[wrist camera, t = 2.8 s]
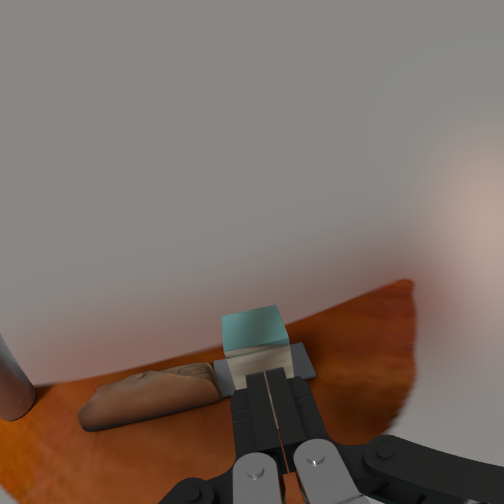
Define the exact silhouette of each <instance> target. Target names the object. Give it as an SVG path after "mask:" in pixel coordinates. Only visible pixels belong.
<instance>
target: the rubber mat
mask: <svg viewBox="0 0 504 504" xmlns="http://www.w3.org/2000/svg"><path fill="white" fill-rule="evenodd" d="M290 350H291V358H292V365H293V373H294V377H296V376H300V377H301V378H302V379H303V380H307V379H310V378H314V377H316V373H315V371H314V368H313V366H312V364H311V361H310V359H309V357H308V355H307V352H306V350H305V348H304V345H303V343H302V342H300V343H296V344H292V345H290ZM214 373H215V376H216V378H217V381H218V384H219V386H220V389H221V392H222V394H223V397H229V396H233V393H234V391H235V390H236V388H235V385H234V382H233V378H232V375H231V372H230V369H229V366H228V363H227V360H226V359H223V360H217V361H214Z"/></svg>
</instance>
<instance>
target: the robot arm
mask: <svg viewBox="0 0 504 504" xmlns="http://www.w3.org/2000/svg"><path fill="white" fill-rule="evenodd" d="M265 373H266V377H267V382H268V386H269V390H270V395H271V399H272V403H273V407H274V412H275V416H276V420H277V424H278V428H279V432H280V436H281V440H282V444H283V448H284V452H285V456H286V460H287V464H288V468H289V472H290V473H292V472H295V473H296V477H297V481H298V484H299V489H300V492H301V495H302V497H303V500H304V502H305V504H370V503H369V501H368V499H367V498H366V497H365V496H368V497H370V498H372V499H375V500H377V501H380V502H382V503H385V504H504V467H501V466H497V465H492V464H487V463H483V462H478V461H474V460H470V459H466V458H463V457H458V456H455V455H452V454H448V453H445V452H441V451H438V450H435V449H431V448H428V447H425V446H422V445H419V444H416V443H413V442H410V441H407V440H404V439H402V438H399V437H396V436H393V435H381V436H377V437H375V438H374V439H372V440H371V441H370V442H369V443H368V444H365V445H342V444H339V443H336V442H335V441H333V440H332V439H331V438H330V437H329V436H328V434H327V431H326V429H325V426H324V424H323V421H322V418H321V416H320V413H319V411H318V408H317V406H316V404H315V400H314V398H313V396H312V393H311V390H310V387H309V385H308V383H307V382H306V381H305V380H303V379H302V378H301V377H300V376H296V377H292V378H288V379H287V377H286V374H285V371H284V368H283V367H279V368H274V369H270V370H266V371H265ZM245 377H246V384H247V388H243V389H238V390H235V391H234V393H233V396H232V398H231V401H230V402H231V412H232V421H233V432H234V441H235V450H236V459H235V462H234V464H233V466H232V467H231V468H230V469H229V470H228V471H227V472H225V473H224V474H222V475H220V476H217V477H215V478H212V479H210V480H207V481H205V480H203V479H200V478H187V479H184V480H182V481H180V482H178V483H177V484H176V485H175V486H174V487H173V488H172V490H171V491H170V492H169V493H168V494H167V495H166V496H165V497H164V498H163V499H162V500H161V501H160V502H159V503H158V504H287V503H286V495H285V492H286V488H285V483H284V479H283V475H284V474H288V472H287V468H286V464H285V460H284V456H283V451H282V447H281V443H280V439H279V435H278V431H277V427H276V422H275V418H274V414H273V410H272V406H271V401H270V397H269V393H268V389H267V385H266V380H265V376H264V372H263V371H262V372H257V373H252V374H247V375H245ZM35 397H36V390H35V388H34V386H33V385H32V384H31V382H30V381H29V379H28V378H27V376H26V375H25V373H24V372H23V370H22V369H21V367H20V366H19V364H18V363H17V361H16V359H15V358H14V356H13V355H12V353H11V351H10V350H9V348H8V346H7V345H6V343H5V341H4V339H3V338H2V336H1V334H0V417H1V418H2V419H4V420H7V421H12V420H16V419H18V418H20V417H21V416H23V415H24V414H25V413H26V412H27V411H28V410H29V409H30V408H31V406H32V404H33V403H34V400H35ZM360 493H361V494H363V495H361V494H360ZM364 495H365V496H364Z"/></svg>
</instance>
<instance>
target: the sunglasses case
mask: <svg viewBox="0 0 504 504" xmlns="http://www.w3.org/2000/svg"><path fill="white" fill-rule="evenodd" d="M220 400H224V397H223V394H222V392H221V389H220V386H219V384H218V381H217V378H216V376H215V373H214V370H213V367H212V365H211V364H210V363H208V362H207V363H193V364H188V365H183V366H178V367H174V368H169V369H165V370H161V371H156V372H155V371H147V372H142V373H138V374H134V375H131V376H129V377H127V378H125V379H124V380H120V381H116V382H113V383H110V384H106V385H104V386H101V387H99V388H97V389H96V390H95V393H94V395H93V396H92V398H91V399H90V400H89V401H88V402H87V403H86V404H85V405H83V406H82V407H81V408H80V409H79V411H78V420H79V423H80V425H81V427H82V428H83V430H85V431H86V432H87V431H88V432H92V431H97V430H103V429H107V428H112V427H115V426H121V425H125V424H128V423H132V422H138V421H143V420H148V419H153V418H157V417H161V416H164V415H169V414H174V413H178V412H182V411H185V410H189V409H193V408H197V407H201V406H205V405H208V404H211V403H215V402H218V401H220Z"/></svg>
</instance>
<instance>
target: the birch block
mask: <svg viewBox="0 0 504 504" xmlns="http://www.w3.org/2000/svg"><path fill="white" fill-rule="evenodd" d="M221 318H222V332H223V347H224V354H225V357H226V360H227V363H228V366H229V369H230V372H231V375H232V378H233V382H234V385H235V388H236V390H238V389H243V388H247V384H246V377H245V375H247V374H252V373H257V372H262V371H263V372H264V376H265V380H266V385H267V389H268V393H269V397H270V401H271V406H272V410H273V414H274V418H275V422H276V427H277V429H279V428H278V424H277V420H276V416H275V412H274V407H273V403H272V399H271V395H270V390H269V386H268V382H267V377H266V373H265V371H266V370H270V369H274V368H279V367H283V368H284V371H285V374H286V377H287V379H288V378H292V377H294V373H293V365H292V358H291V350H290V343H289V337H288V334H287V332H286V329H285V326H284V324H283V321H282V319H281V316H280V313H279V311H278V308H277V306H276V305H272V306H268V307H263V308H258V309H254V310H249V311H244V312H240V313H235V314H230V315H225V316H222V317H221Z"/></svg>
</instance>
